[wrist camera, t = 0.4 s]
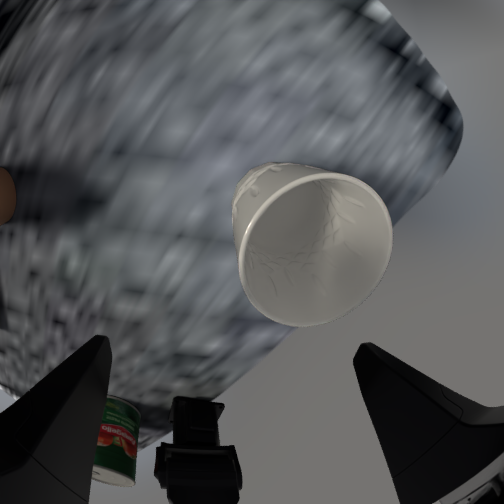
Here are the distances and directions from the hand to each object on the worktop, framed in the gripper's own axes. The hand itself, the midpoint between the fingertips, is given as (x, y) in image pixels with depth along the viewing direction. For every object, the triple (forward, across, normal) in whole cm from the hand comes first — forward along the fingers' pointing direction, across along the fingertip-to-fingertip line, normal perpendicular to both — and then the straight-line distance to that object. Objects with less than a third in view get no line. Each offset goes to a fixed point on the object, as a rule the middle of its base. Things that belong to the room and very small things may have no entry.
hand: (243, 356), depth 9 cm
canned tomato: (+15, +12, +28) cm, 33 cm away
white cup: (+14, -4, -2) cm, 15 cm away
